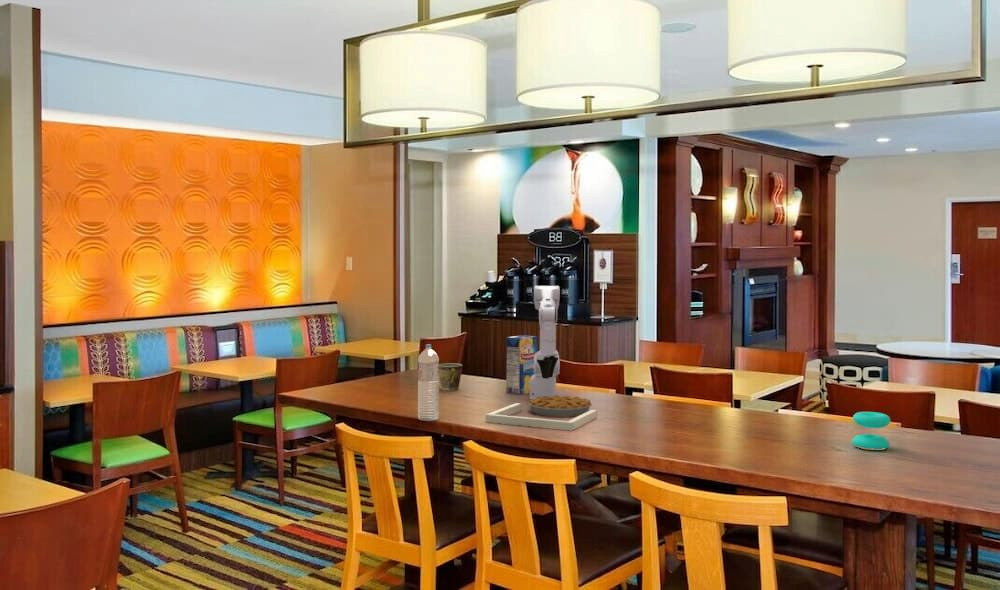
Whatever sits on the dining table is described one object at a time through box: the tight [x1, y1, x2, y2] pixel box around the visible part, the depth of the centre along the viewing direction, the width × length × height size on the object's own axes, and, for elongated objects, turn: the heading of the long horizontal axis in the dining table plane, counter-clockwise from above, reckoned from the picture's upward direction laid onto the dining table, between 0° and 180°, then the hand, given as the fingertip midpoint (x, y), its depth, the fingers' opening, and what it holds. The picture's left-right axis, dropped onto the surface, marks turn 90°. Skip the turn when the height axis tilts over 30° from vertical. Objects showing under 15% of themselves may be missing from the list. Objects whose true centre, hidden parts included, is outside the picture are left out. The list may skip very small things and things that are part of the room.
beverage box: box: [505, 334, 538, 395], centre depth 355 cm, size 7×11×22 cm, turn 139°
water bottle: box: [417, 343, 440, 422], centre depth 297 cm, size 7×7×25 cm
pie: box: [527, 395, 593, 418], centre depth 313 cm, size 22×22×5 cm
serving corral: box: [485, 402, 598, 432], centre depth 299 cm, size 30×24×2 cm
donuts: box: [851, 411, 891, 449], centre depth 260 cm, size 10×10×10 cm
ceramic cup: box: [438, 362, 463, 392], centre depth 358 cm, size 13×10×10 cm
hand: (547, 377), depth 323 cm, fingers open, 3 cm apart
